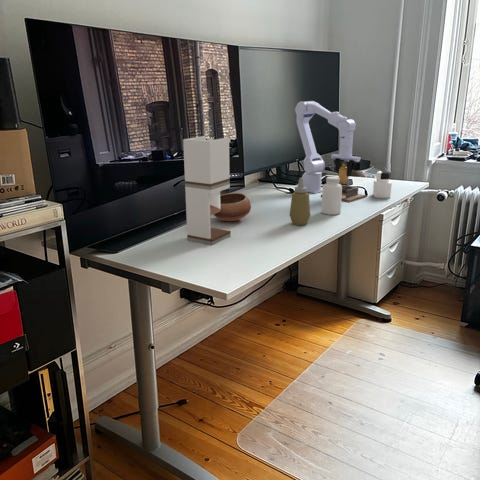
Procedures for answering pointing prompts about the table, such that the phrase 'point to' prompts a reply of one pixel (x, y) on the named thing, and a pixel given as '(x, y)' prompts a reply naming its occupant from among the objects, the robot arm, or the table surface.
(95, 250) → the table surface
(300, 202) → the squeeze bottle
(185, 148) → the white tower
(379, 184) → the medicine bottle
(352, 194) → the bottle rest
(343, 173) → the amber bottle
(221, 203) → the bowl
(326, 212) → the pill bottle
